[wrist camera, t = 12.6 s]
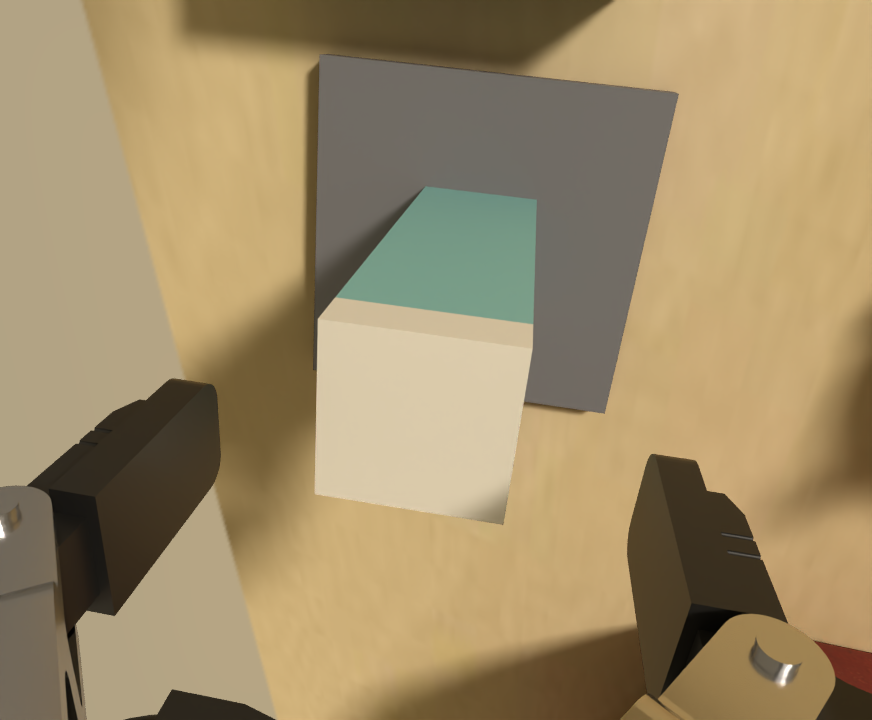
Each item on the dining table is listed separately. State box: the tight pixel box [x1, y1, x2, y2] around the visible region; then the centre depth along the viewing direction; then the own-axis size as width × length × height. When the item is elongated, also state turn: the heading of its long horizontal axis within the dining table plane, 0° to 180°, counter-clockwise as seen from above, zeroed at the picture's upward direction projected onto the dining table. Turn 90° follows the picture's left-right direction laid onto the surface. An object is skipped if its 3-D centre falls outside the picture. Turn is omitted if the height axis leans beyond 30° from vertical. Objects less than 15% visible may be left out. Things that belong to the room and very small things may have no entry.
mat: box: [313, 54, 679, 414], centre depth 26 cm, size 12×12×1 cm
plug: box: [315, 186, 537, 525], centre depth 19 cm, size 4×4×13 cm
